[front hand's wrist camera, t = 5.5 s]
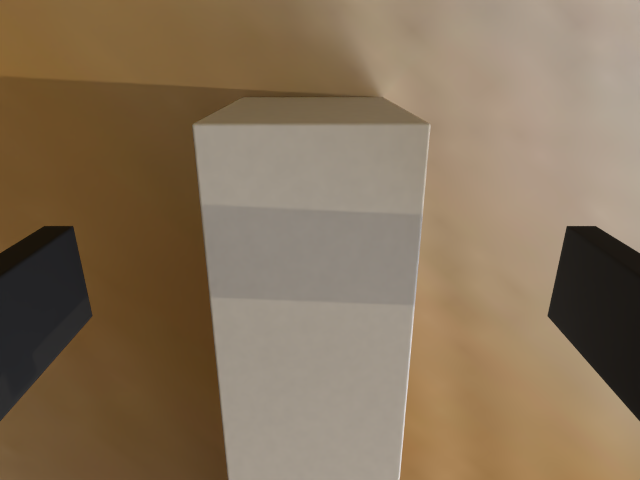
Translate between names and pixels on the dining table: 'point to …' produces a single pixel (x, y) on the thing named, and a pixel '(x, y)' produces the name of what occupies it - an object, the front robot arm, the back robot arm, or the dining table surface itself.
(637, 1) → the dining table surface
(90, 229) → the dining table surface
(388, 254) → the post
